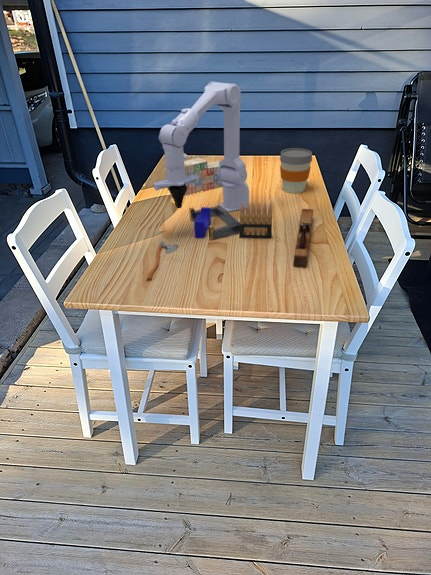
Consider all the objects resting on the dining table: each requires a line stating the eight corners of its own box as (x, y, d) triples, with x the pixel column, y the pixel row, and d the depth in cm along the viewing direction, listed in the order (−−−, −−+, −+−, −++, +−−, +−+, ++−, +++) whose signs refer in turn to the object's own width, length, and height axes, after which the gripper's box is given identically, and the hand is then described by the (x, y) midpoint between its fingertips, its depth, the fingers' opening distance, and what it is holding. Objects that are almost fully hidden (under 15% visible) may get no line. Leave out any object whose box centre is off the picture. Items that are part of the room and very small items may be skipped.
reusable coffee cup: (309, 184, 179) (312, 148, 171) (309, 195, 169) (312, 157, 161) (279, 183, 181) (281, 147, 173) (277, 194, 171) (279, 157, 163)
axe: (168, 282, 120) (167, 277, 119) (145, 282, 121) (144, 277, 120) (179, 245, 139) (179, 240, 138) (160, 245, 139) (159, 241, 138)
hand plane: (311, 269, 124) (314, 238, 118) (293, 268, 125) (295, 237, 119) (312, 219, 151) (314, 192, 146) (297, 218, 152) (299, 192, 147)
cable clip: (198, 222, 152) (197, 206, 148) (210, 223, 151) (210, 207, 148) (190, 238, 142) (189, 221, 139) (203, 238, 141) (203, 222, 138)
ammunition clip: (271, 236, 141) (273, 202, 135) (271, 238, 140) (273, 204, 133) (239, 235, 142) (239, 201, 136) (239, 238, 141) (239, 204, 134)
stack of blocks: (219, 181, 186) (218, 153, 179) (226, 185, 181) (226, 156, 174) (175, 192, 177) (172, 162, 170) (182, 197, 172) (180, 167, 165)
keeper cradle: (218, 213, 158) (218, 201, 155) (242, 232, 144) (242, 220, 141) (189, 219, 153) (188, 208, 151) (210, 240, 140) (210, 227, 137)
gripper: (157, 173, 126) (161, 216, 133) (201, 165, 131) (203, 206, 138) (149, 166, 131) (154, 208, 139) (192, 159, 136) (195, 199, 144)
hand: (178, 207), depth 139 cm, fingers closed
